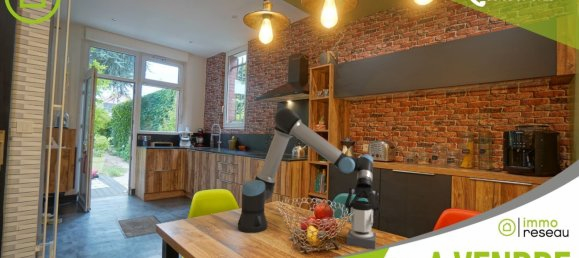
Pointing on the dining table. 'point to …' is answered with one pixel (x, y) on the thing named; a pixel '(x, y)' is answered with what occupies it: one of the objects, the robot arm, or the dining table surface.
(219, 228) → the dining table surface
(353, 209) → the jar
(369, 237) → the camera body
